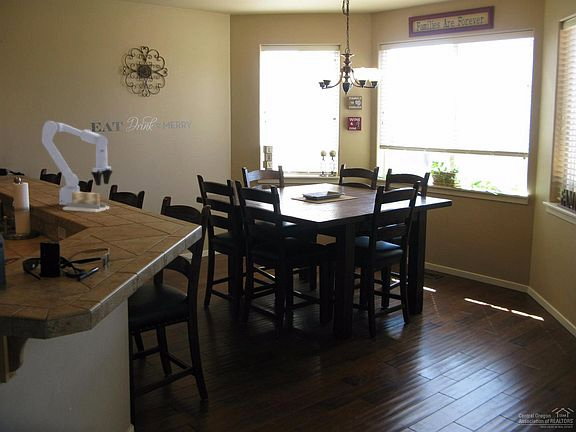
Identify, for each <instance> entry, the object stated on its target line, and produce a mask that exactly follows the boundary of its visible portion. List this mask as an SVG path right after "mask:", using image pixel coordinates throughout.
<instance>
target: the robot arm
mask: <svg viewBox="0 0 576 432" xmlns="http://www.w3.org/2000/svg"><path fill="white" fill-rule="evenodd" d="M57 132H58V133H60V132H64V133H65V132H66V133H69V134H72V135H74V136H78V137H79V138H80V140H81V141H84V142H87V143H90V144H93V145H95V146H96V148H95V167H92V171H91V175H92V177H93V179H94V183H95V186H101V184H102V178H103V184H104V185H109V183H110V178H111V175H112V174H113V170H112V166H110V165H108V143H109V141H108V139H107V137H106V136H104V135H102V134H100V133H96V132H93V131H91V129H82V130H80V129H78V128H75V127H74V126H71V125H68V124H65V123H63V122H58V121H56V122H55V121H53V120H47V121H45V122H44V125H43V127H42V131H41V133H42V134H41V143H42V145H43V146H44V148H45V149H46V152H48V153H49V155H50V157H51V159H52V160H53V162H54V163H55V165H56V166H57V168H58V169H59V171H60V173H61V174H62V176H63V177H64V181H65V184H66V185H64V186H62V187H61V188H60V189H59V203H58V205H61V206H63V205H64V206H67V205H66V203H72V192H81V191H80V186H79V182H80V180H79V178H78V176H77V174H75V173H73V172H72V170H71V169H70V167H69V165H68V164H67V162H66V161H65V158H64V157H63V155H62V154H61V153H60V151H59V150H58V148H57V147H56V145H55V143H54V142H53V140H54V136H55V134H56V133H57Z"/></svg>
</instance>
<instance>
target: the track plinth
mask: <svg viewBox="0 0 576 432" xmlns="http://www.w3.org/2000/svg"><path fill="white" fill-rule="evenodd" d="M106 209H107V210H109V209H110V206H109V205H107V203H102V202H100V205H93V204H79V203H66V205H65V206H64V207H62V210H63V211H71V212H72V211H74V212H75V211H76V212H86V213H99V212H103V211H106Z"/></svg>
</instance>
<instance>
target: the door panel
mask: <svg viewBox="0 0 576 432" xmlns="http://www.w3.org/2000/svg"><path fill="white" fill-rule="evenodd" d="M100 195H101V193H98V192H97V193H96V192H84V191H83V192H82V191H80V192H72V203H79V204H93V205H100V203H101V199H100V198H101V197H100Z"/></svg>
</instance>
